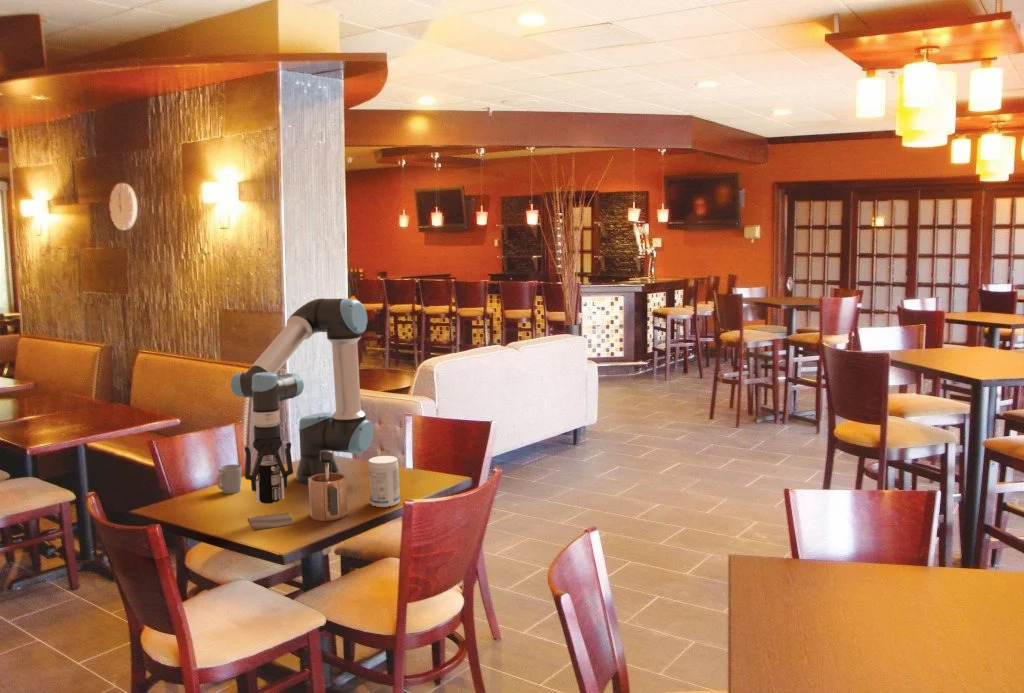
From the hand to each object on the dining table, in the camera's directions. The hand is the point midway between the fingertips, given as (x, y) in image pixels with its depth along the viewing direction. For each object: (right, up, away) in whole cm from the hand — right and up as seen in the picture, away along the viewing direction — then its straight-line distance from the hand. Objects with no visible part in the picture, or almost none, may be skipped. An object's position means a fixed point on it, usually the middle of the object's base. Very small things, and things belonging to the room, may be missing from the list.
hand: (270, 499), depth 254 cm
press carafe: (+17, -6, +5) cm, 19 cm away
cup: (-23, -4, +32) cm, 40 cm away
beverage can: (0, -1, 0) cm, 1 cm away
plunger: (+16, -3, +6) cm, 18 cm away
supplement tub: (+32, -5, +18) cm, 37 cm away
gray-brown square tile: (0, -7, +1) cm, 7 cm away
